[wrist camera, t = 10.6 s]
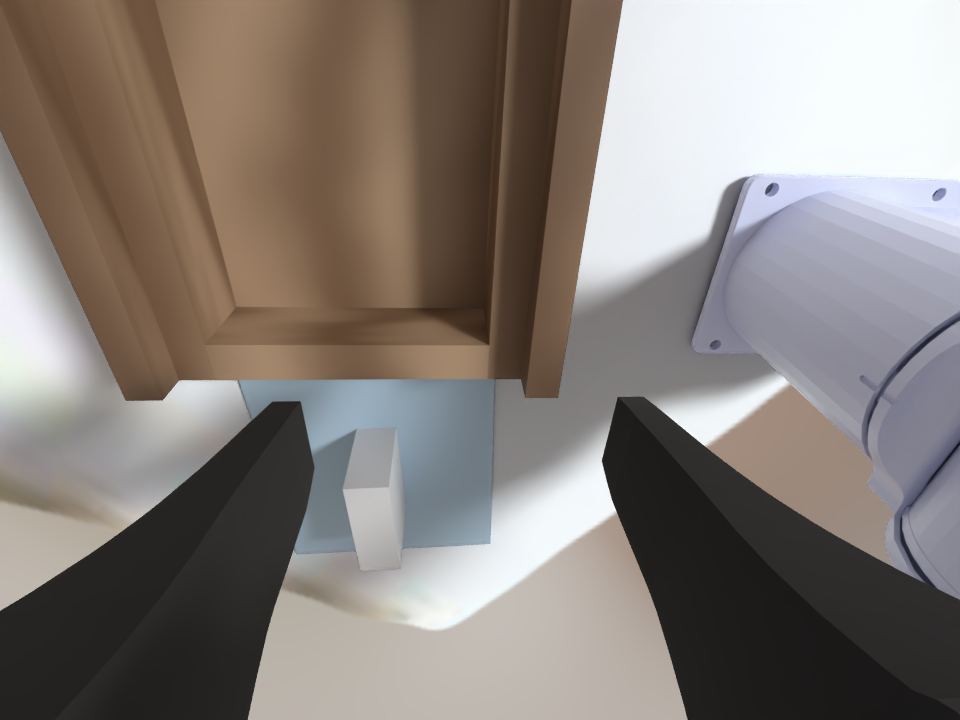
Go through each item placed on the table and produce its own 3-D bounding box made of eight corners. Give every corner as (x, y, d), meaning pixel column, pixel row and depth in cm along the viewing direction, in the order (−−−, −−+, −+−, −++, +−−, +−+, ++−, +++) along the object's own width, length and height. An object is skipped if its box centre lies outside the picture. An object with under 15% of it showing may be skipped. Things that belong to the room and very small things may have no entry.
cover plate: (493, 351, 23) (504, 414, 19) (489, 533, 30) (496, 605, 26) (241, 358, 22) (196, 425, 18) (299, 542, 30) (277, 619, 26)
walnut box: (595, -183, 13) (673, -306, 9) (534, 328, 22) (557, 397, 17) (8, -235, 12) (-249, -406, 7) (194, 326, 20) (126, 400, 16)
